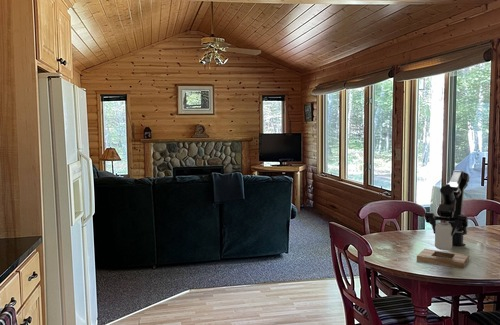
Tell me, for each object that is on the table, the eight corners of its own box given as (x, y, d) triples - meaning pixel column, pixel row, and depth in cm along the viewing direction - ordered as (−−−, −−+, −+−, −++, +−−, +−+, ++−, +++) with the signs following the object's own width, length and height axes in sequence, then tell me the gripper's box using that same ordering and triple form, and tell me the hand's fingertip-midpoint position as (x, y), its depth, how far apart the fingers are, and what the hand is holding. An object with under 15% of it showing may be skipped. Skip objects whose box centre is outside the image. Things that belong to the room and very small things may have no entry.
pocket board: (424, 253, 211) (424, 248, 211) (468, 260, 199) (468, 255, 199) (416, 260, 199) (416, 255, 199) (463, 268, 187) (463, 262, 187)
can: (454, 250, 195) (454, 225, 194) (436, 250, 197) (437, 225, 196) (449, 246, 202) (450, 222, 201) (433, 245, 204) (433, 221, 203)
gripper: (425, 195, 206) (419, 222, 198) (467, 199, 195) (462, 227, 187) (429, 209, 213) (423, 235, 205) (470, 212, 202) (465, 240, 194)
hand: (442, 234), depth 198 cm, fingers closed on can, 7 cm apart
